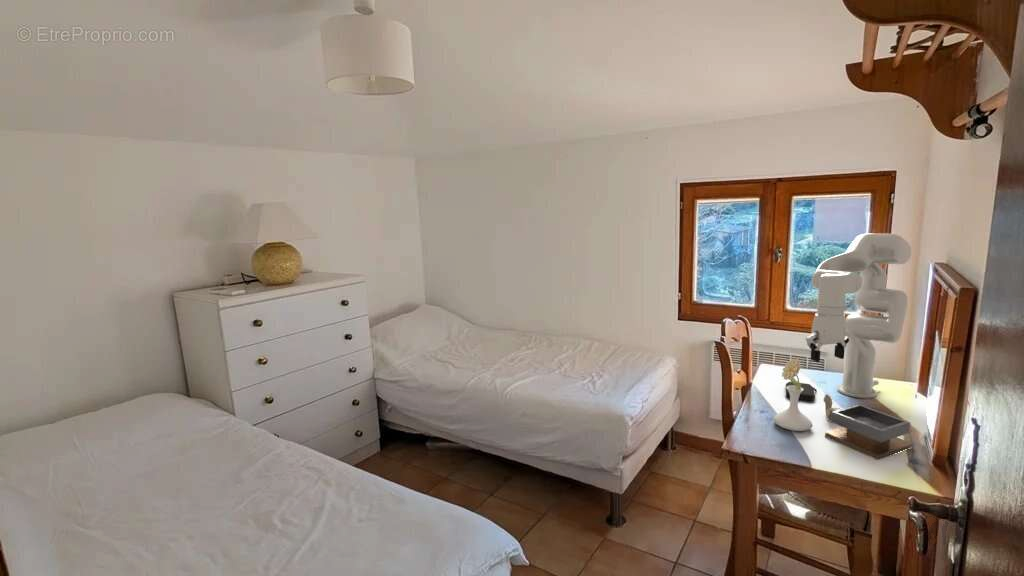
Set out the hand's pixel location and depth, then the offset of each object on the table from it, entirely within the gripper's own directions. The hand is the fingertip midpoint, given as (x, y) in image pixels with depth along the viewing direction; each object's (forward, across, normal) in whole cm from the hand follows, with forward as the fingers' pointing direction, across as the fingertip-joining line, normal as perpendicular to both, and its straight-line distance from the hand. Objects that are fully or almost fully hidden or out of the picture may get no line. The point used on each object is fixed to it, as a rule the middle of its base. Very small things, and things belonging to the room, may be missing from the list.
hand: (827, 359), depth 162 cm
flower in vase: (+22, +15, +3) cm, 27 cm away
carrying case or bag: (+22, -10, -20) cm, 31 cm away
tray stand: (+22, +1, +17) cm, 28 cm away
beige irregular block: (+22, -3, +2) cm, 22 cm away
